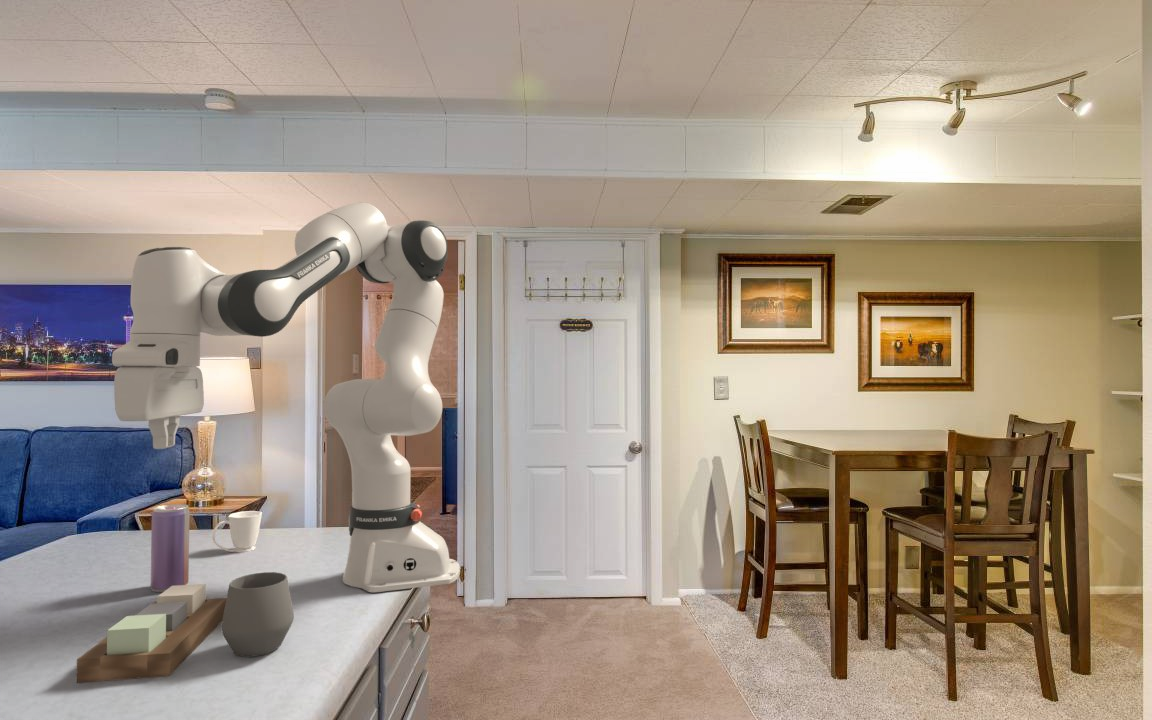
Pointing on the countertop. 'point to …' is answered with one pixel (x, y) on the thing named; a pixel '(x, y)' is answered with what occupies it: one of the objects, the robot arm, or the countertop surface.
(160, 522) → the beverage can
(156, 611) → the graphite key
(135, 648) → the sage key
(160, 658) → the wooden tray
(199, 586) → the ivory key
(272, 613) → the cup
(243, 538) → the cup
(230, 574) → the countertop surface
